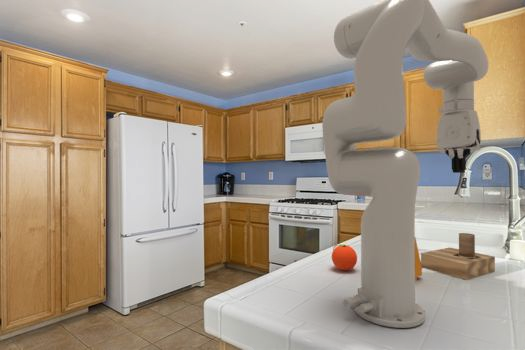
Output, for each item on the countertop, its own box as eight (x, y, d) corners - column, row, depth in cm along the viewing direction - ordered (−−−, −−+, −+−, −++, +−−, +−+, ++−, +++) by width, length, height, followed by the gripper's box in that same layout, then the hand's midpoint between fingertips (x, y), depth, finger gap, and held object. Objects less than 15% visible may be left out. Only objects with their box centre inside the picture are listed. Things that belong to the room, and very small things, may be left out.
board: (465, 279, 74) (465, 263, 74) (420, 267, 85) (420, 253, 85) (494, 271, 81) (494, 256, 81) (449, 260, 91) (449, 247, 91)
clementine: (323, 267, 85) (323, 242, 85) (341, 263, 89) (341, 240, 89) (344, 275, 78) (344, 248, 78) (362, 271, 82) (362, 245, 82)
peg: (470, 273, 79) (470, 236, 79) (455, 269, 82) (455, 233, 82) (478, 271, 81) (478, 234, 81) (463, 267, 84) (463, 232, 84)
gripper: (425, 112, 90) (425, 172, 90) (479, 101, 77) (480, 172, 77) (440, 114, 94) (440, 172, 94) (495, 104, 80) (495, 172, 80)
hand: (458, 172), depth 85 cm, fingers closed
